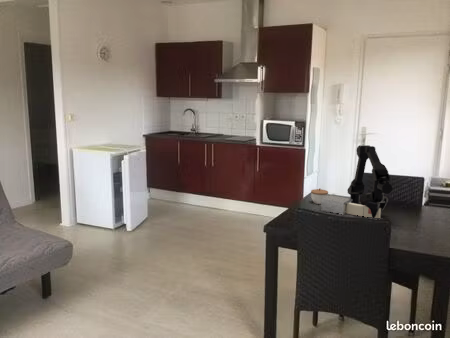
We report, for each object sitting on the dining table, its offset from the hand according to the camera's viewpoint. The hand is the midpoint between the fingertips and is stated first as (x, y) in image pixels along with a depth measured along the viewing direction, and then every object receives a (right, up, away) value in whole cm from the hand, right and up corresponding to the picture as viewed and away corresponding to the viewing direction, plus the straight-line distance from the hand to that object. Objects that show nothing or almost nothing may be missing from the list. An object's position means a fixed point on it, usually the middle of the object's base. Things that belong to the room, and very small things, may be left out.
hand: (376, 216), depth 231 cm
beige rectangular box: (-6, 0, +5) cm, 8 cm away
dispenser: (-19, +2, +15) cm, 24 cm away
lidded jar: (-25, +5, +33) cm, 42 cm away
